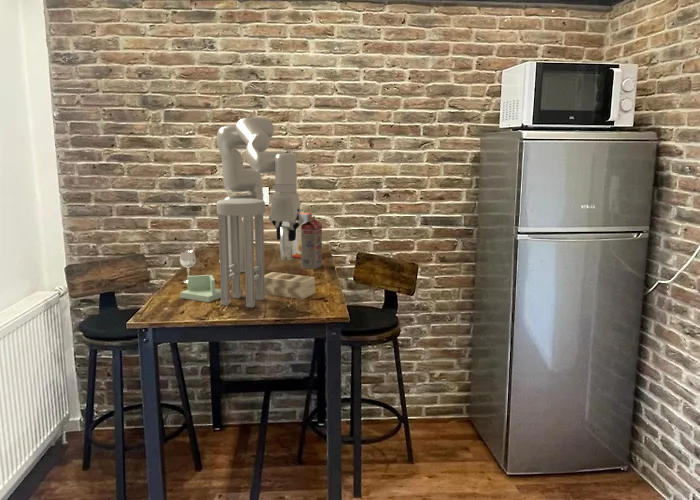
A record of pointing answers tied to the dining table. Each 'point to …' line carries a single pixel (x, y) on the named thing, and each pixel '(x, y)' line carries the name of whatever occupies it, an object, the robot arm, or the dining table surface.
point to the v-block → (201, 289)
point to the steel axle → (285, 244)
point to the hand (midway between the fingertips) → (286, 239)
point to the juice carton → (311, 244)
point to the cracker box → (298, 236)
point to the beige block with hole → (289, 285)
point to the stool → (234, 211)
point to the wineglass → (187, 260)
